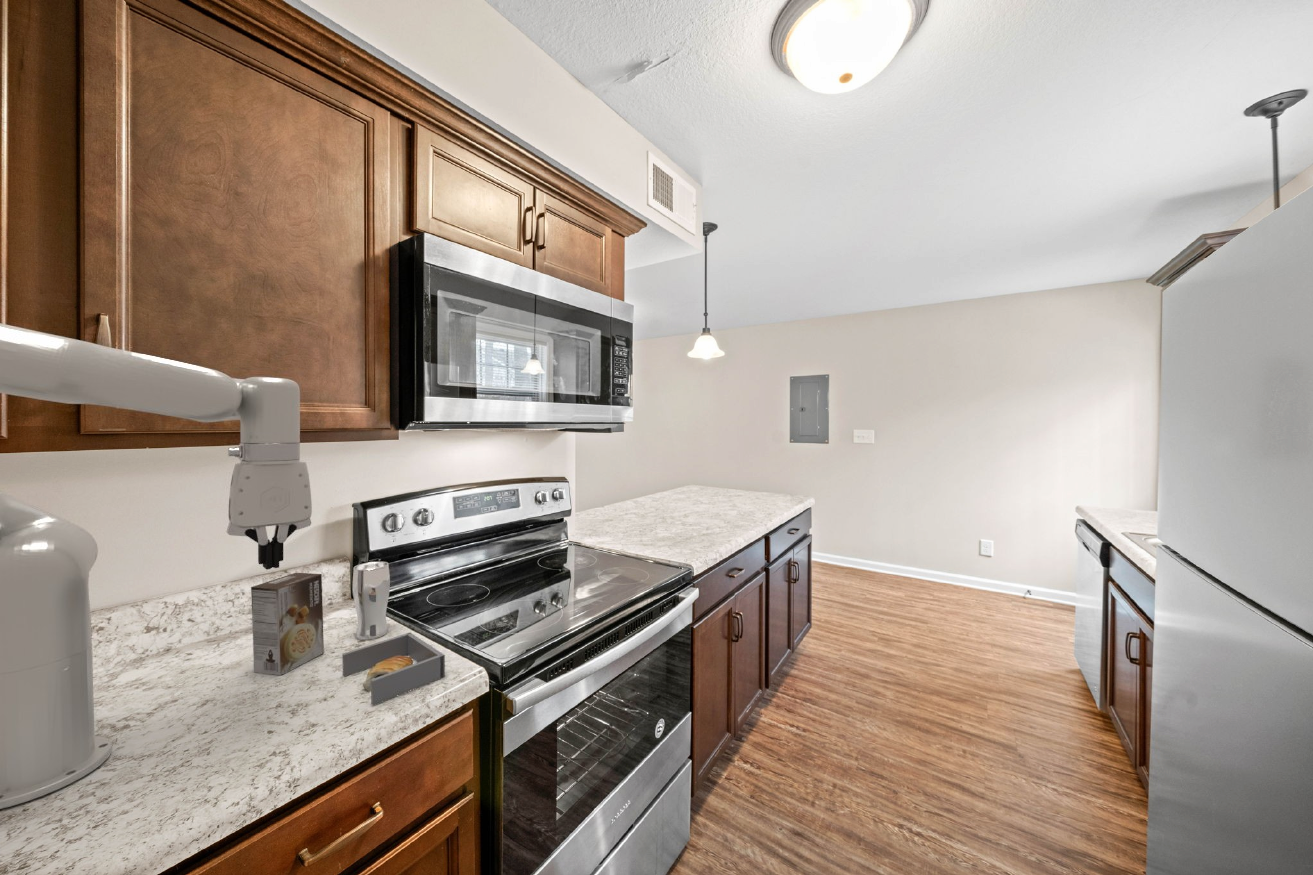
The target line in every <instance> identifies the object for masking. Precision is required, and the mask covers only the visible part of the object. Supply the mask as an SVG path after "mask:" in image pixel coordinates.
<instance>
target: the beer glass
mask: <svg viewBox="0 0 1313 875" xmlns="http://www.w3.org/2000/svg"><path fill="white" fill-rule="evenodd" d="M389 565H390V564H389V562H387V561H379V560H378V561H370V562H369V561H368V562H364V563H360V564H357V565H355V566H354V567H353V572H352V573H353V576H352V596H353V601H354V606H355V610H356V616H357V627H356V633H355V638H356V639H357V640H360V641H369V640H370V641H371V640H374V639H379V638H382V637H384V636H385V635H387V634H388V633H389V626H388V622H387V608H388V602H389V596H390V589H391V585H390V584H391V578H390V577H391V575H390V568H389Z"/></svg>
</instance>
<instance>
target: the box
mask: <svg viewBox="0 0 1313 875" xmlns="http://www.w3.org/2000/svg"><path fill="white" fill-rule="evenodd" d="M341 654H342V658H341V659H342V677H344V678H345V677H348V676H350V675H354V674H356V673H359V672H362V671H366V670H368V669H371V668H373V667H375V665H376V664H377V663H379V662H382V661H384V660H387V659H389V658H392V657H395V656H406V657H407V656H408V657H411V659H412V660H413V661H415V663H414V664H413V665H410V666H407V667H404V668H402V669H399V670H396V671H393V672H391V673H388V674H385V675H382V676H380V677H377V678H374V679H371V692H370V704H371V705H372V706H373V705H374V706H376V705H379V704H381V703H383V702H382V701H384V702H386V701H388V699H389V700H391V699H394V698H396V697H398V696H397V695H399V696H401V695H403V693H404V694H406V693H408V691H409V692H410V690H411V691H413V689H414V690H416V689H418V688H421V687H423V686H426V685H428V684H431V683H433V682H436V681H439V680H441V679H443V678H445V677H446V674H445V673H446V672H445V670H446V668H445V667H446V664H445V662H446V659H445V658H446V655H445V654H444V653H442V652H441V651H439V650H438V649H436V648H435V647H433V645H430V644H428V643H427V642H426V641H424V640H423V639H421V638H419V637H418V636H416V635H415V634H413V633H412V632H407V633H403V634H400V635H398V636H394V637H391V638H387V639H385V640H381V641H378V642H375V643H372V644H369V645H365V646H362V647H360V648H356V649H353V650H349V651H346V652H343V653H341ZM415 688H416V689H415ZM405 692H406V693H405ZM395 696H396V697H395ZM393 697H394V698H393ZM390 698H391V699H390ZM378 703H379V704H378ZM375 704H376V705H375Z"/></svg>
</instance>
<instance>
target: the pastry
mask: <svg viewBox="0 0 1313 875" xmlns="http://www.w3.org/2000/svg"><path fill="white" fill-rule="evenodd" d="M413 663H414V659H413V658H411V657H410V656H407V655H406V656H395V657H392V658H389V659H387V660H384V661H382V662H379V663H377V664H376V665H375V666H374V667H371V668H369V671H368V672H367V674H366V677H365V678H366V679H365V680H364V682H362V686H363V689H365V690H367V692H370V691H371V679H374V678H377V677H380V676H382V675H385V674H388V673H391V672H393V671H396V670H399V669H402V668H404V667H407V666H410V665H413Z"/></svg>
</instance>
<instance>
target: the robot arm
mask: <svg viewBox="0 0 1313 875" xmlns="http://www.w3.org/2000/svg"><path fill="white" fill-rule="evenodd" d="M0 394H4V395H11V396H17V397H24V398H30V399H34V400H35V399H36V400H40V401H47V402H55V403H62V404H71V405H75V404H76V405H80V404H81V405H96V406H105V407H111V408H119V409H125V410H131V411H137V412H138V411H139V412H144V413H150V414H157V415H162V416H169V417H174V418H181V419H186V420H192V421H196V422H199V423H215V422H225V421H240V443H239V445H237V446H234V447H228V449H227V455H228V457H235V458H238V459H239V462H240V463H239V462H238V463H235V464H234V467H233V471H232V474H231V480H230V488H229V498H228V521H229V522H228V526H227V528H226V534H228V535H229V536H235V537H248V538H249V539H250V540H252V541H254V542H255V543H257V550H258V551H257V552H258V553H257V561H258V565H262V567H263V568H264V569H265V570H266V571H267V570H271V569H279V568H280V562H283V561H284V543H285V542H286V541H287V539H288V538H289V537H290V536H291V535H292V534H293V533H294V532H295V531H297V530H300V529H301V530H302V529H304V528H307V527H311V525H312V521H311V517H312V512H313V511H312V510H313V508H312V507H313V506H312V505H313V504H312V493H311V492H312V491H311V483H310V475H309V470H308V465H307V462H306V461H301V456H300V455H301V444H300V443H301V440H300V438H301V435H300V434H301V390H300V386H299V384H298V383H297V382H296V381H294V380H292V379H290V378H289V379H288V378H282V377H272V376H271V377H269V376H251V377H250V376H249V377H247V378H245V379H244V378H243V379H242V378H236V377H231V376H229V375H228V374H226V373H223V372H222V371H219V370H217V369H212V368H208V367H204V366H201V365H195V364H190V363H185V362H181V361H177V360H172V359H168V358H163V357H159V356H154V355H148V354H144V353H138V352H133V351H129V350H124V349H120V348H114V347H110V346H105V345H101V344H97V343H93V342H89V341H84V340H79V339H76V338H70V337H66V336H62V335H55V334H52V333H46V332H43V331H42V332H41V331H38V330H37V331H36V330H34V329H28V328H23V327H19V326H13V325H9V324H5V323H1V322H0ZM266 527H275V528H274V532H273V537H272V538H271V539H269V537H268V532H267V528H266ZM98 549H99V548H98V543H97V541H96V539H95V538H94V536H93V535H92V534H91V533H90V532H89V531H88V530H86V529H85V528H83V527H82V526H79V525H78V524H76V523H73V522H71V521H69V520H66V519H65V518H62V517H60V516H57V514H54V513H51V512H49V511H46V510H44V509H41V508H39V507H36V506H34V505H33V504H31V503H28V502H26V501H23V500H21V499H19V498H17V497H15V496H12V495H9V494H8V493H5V492H3V491H0V810H2V809H6V808H10V807H13V806H16V805H17V806H18V805H20V804H23V803H28V802H29V801H32V800H35V799H38V798H40V797H43V796H45V795H49V794H50V793H53V792H56V791H57V790H60V789H62V788H65V787H66V786H68V785H70V784H72V783H75V782H77V781H78V780H80V779H82V778H84V777H85V776H87V775H88V774H90V773H91V772H93V771H94V770H96V769H97V768H98V767H99V766H101V765H102V764H104V762H105V761H106V760H107V759H108V758H109V757H110V755H111V754H112V752H113V742H112V740H111V739H110V738H108V737H104V736H100V735H99V736H97V735H95V732H96V731H95V708H94V707H95V703H94V702H95V701H94V699H95V697H94V672H93V671H94V669H93V668H94V665H93V662H94V661H93V660H94V659H93V643H92V618H91V616H92V615H91V607H90V605H91V604H90V593H89V592H90V591H89V581H90V580H89V577H90V572H91V570H92V568H93V567H94V565H95V563H96V560H97V558H98V553H99V550H98Z"/></svg>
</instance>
